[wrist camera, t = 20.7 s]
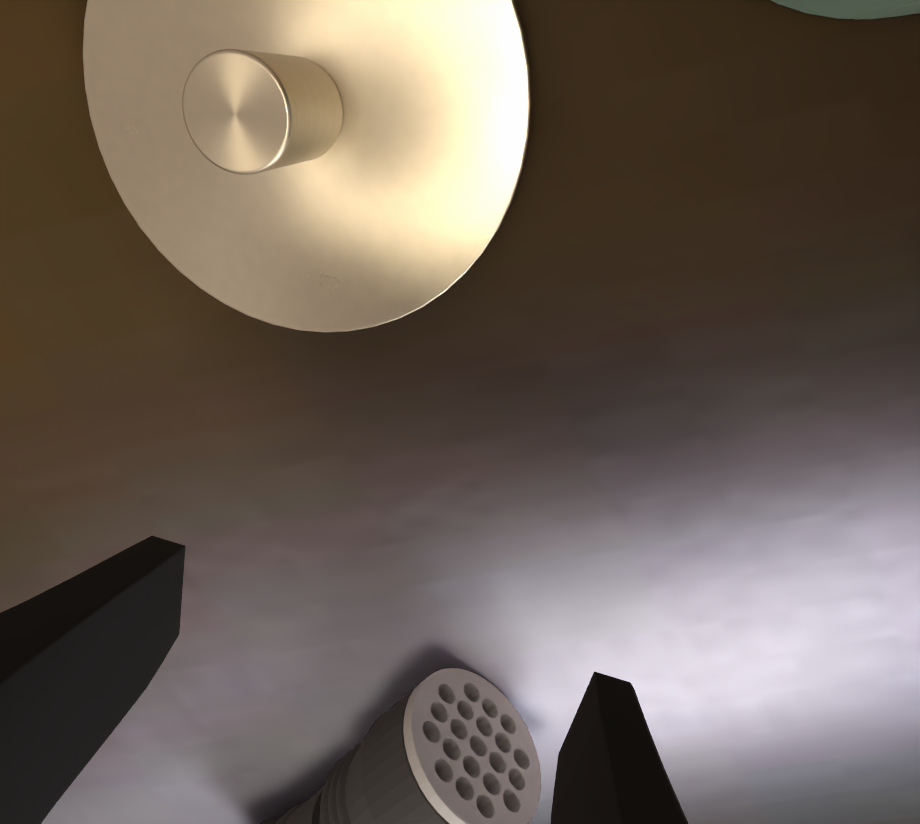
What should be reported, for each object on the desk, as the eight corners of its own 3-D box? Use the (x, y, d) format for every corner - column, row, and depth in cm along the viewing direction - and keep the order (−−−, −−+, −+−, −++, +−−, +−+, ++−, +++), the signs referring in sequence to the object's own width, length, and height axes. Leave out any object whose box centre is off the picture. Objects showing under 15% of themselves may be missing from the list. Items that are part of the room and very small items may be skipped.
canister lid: (595, -102, 16) (595, -168, 12) (473, 367, 21) (444, 433, 17) (109, -219, 16) (-49, -321, 12) (106, 263, 21) (-6, 302, 17)
